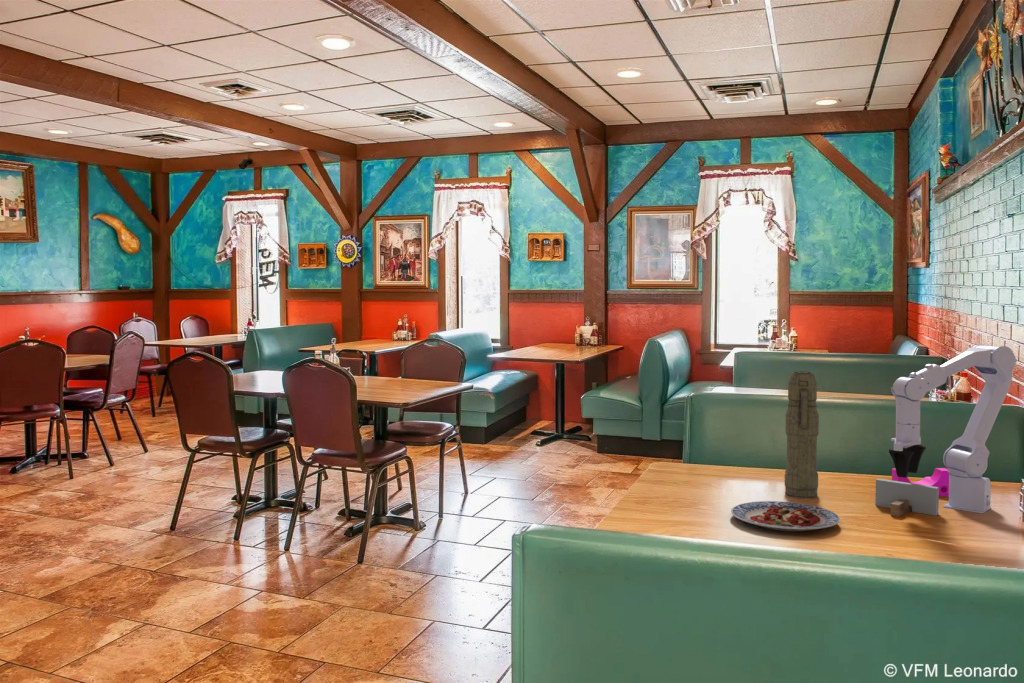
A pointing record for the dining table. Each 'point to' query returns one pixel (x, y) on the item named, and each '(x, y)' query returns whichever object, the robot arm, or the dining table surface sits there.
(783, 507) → the ceramic plate
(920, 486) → the slate plate
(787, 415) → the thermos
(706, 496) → the dining table surface
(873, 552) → the dining table surface
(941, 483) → the toy block
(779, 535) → the dining table surface
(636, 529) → the dining table surface
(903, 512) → the walnut rail
